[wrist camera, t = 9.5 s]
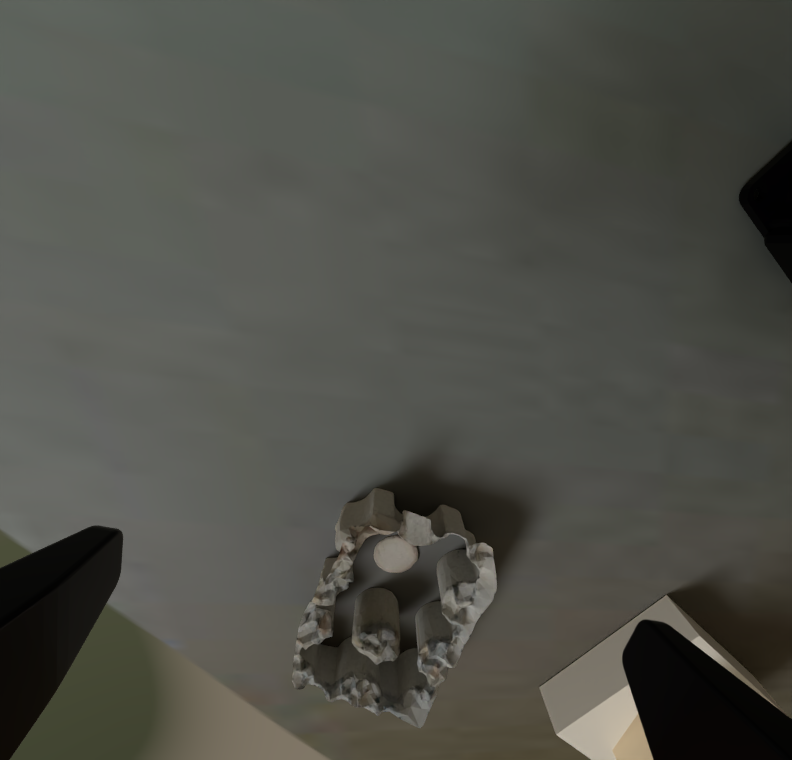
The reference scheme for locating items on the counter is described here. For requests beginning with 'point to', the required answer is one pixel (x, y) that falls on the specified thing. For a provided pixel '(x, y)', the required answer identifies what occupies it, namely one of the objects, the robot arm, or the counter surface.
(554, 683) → the base
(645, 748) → the cube
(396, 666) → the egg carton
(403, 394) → the counter surface
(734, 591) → the counter surface
